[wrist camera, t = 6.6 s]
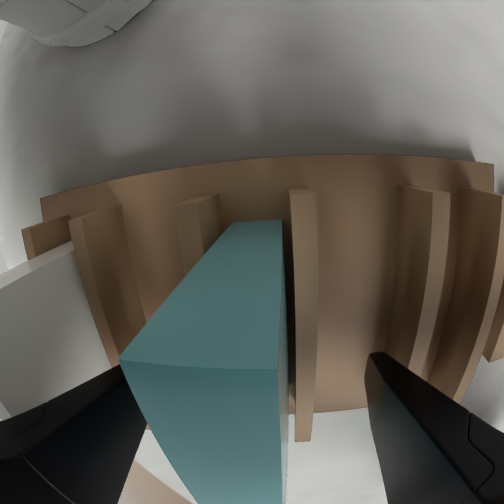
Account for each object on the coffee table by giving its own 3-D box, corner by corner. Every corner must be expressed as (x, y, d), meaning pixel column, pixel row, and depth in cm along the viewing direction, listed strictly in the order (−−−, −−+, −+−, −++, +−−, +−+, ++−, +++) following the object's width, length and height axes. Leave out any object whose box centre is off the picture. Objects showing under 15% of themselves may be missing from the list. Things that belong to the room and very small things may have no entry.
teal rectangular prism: (289, 385, 11) (283, 539, 4) (251, 385, 11) (224, 535, 4) (282, 219, 9) (277, 368, 2) (232, 222, 9) (118, 359, 2)
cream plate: (148, 378, 12) (81, 493, 5) (121, 374, 12) (51, 476, 5) (107, 233, 10) (-43, 315, 3) (78, 237, 10) (-59, 309, 3)
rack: (442, 375, 12) (467, 419, 8) (111, 381, 14) (83, 421, 11) (477, 163, 8) (533, 168, 5) (56, 194, 11) (1, 208, 7)
